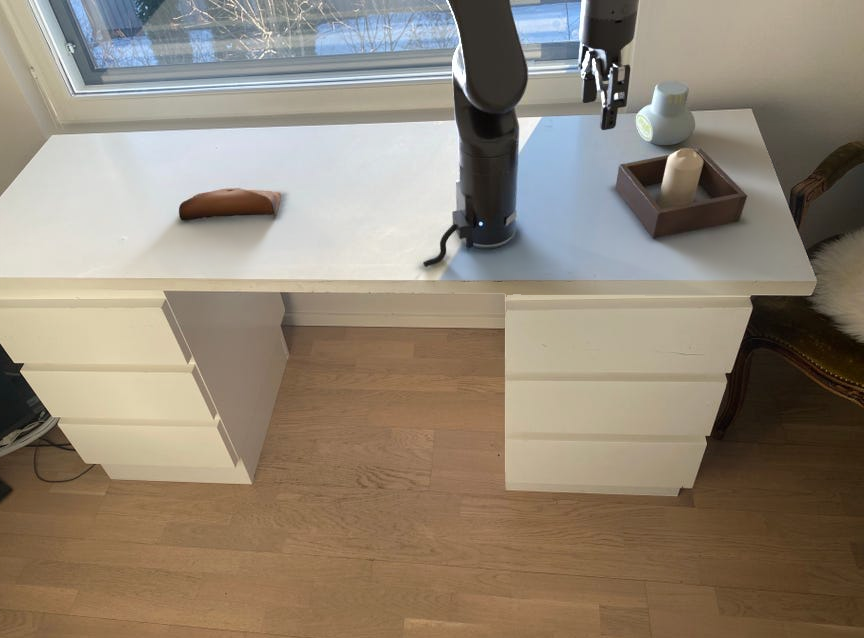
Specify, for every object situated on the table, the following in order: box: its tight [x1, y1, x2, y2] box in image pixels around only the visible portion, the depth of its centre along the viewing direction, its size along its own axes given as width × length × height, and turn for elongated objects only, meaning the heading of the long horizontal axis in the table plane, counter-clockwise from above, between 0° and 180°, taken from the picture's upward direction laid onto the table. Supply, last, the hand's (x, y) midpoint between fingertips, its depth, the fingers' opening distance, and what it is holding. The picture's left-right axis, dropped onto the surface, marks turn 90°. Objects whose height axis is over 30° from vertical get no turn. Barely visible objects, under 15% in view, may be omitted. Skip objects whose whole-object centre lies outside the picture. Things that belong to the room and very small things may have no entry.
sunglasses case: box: [178, 187, 282, 221], centre depth 134 cm, size 18×7×7 cm
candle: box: [658, 147, 703, 209], centre depth 119 cm, size 6×6×10 cm
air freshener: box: [635, 80, 696, 146], centre depth 134 cm, size 11×8×10 cm
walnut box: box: [614, 148, 748, 239], centre depth 121 cm, size 15×15×5 cm
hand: (597, 114), depth 110 cm, fingers open, 8 cm apart
